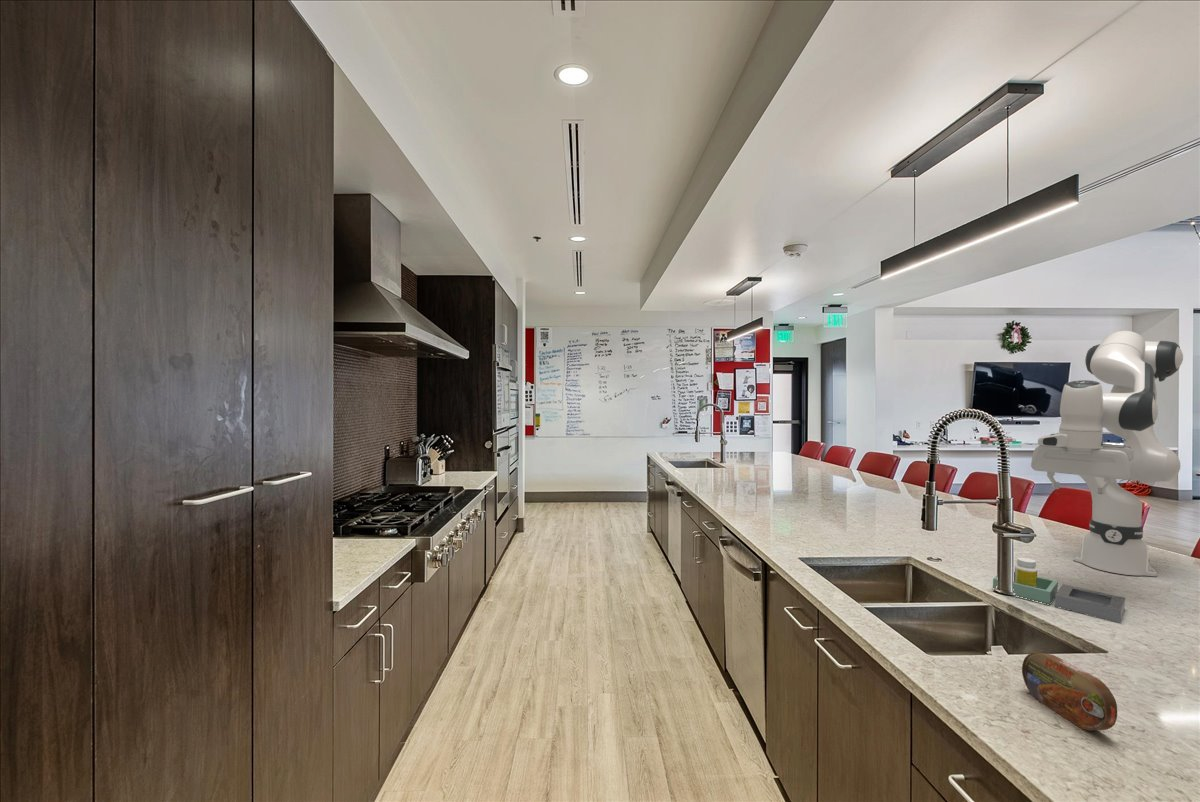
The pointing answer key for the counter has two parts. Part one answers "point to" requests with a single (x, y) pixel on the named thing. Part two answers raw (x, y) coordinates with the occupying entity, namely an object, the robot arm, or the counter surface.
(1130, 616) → the counter surface
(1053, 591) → the tray
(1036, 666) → the tin
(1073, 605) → the grey slotted block
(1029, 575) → the supplement bottle
